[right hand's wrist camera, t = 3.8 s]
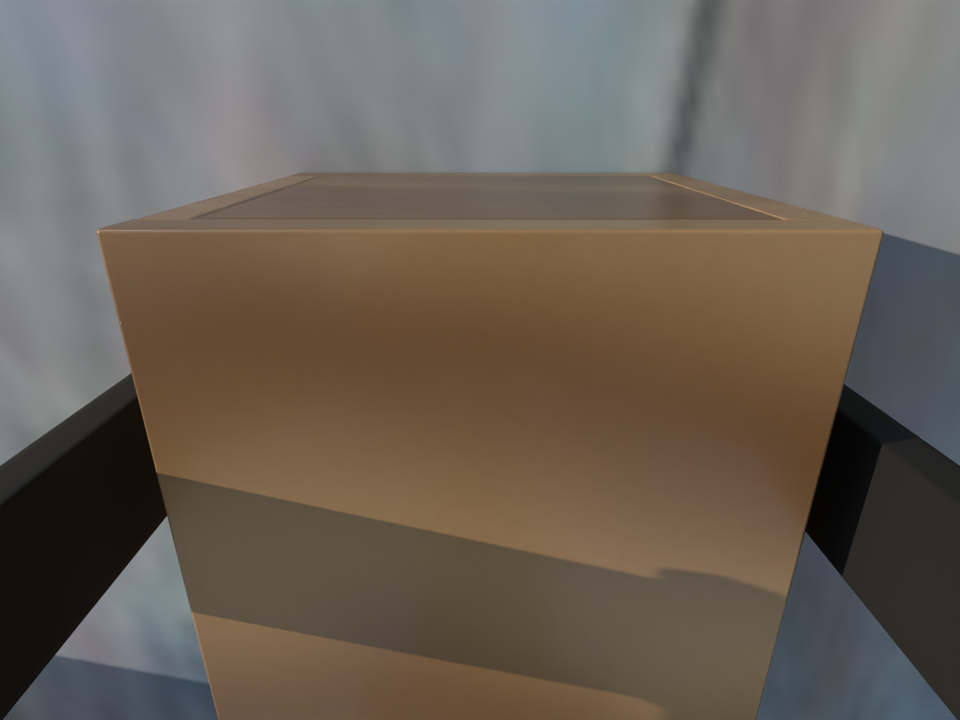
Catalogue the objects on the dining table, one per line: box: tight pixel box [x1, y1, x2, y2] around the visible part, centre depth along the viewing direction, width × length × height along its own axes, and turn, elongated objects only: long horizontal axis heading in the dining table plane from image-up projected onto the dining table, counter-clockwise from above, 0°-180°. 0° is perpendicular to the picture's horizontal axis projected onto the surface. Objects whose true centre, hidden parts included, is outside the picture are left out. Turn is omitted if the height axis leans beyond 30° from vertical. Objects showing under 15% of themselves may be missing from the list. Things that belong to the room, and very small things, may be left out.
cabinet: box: [97, 173, 883, 720], centre depth 16 cm, size 20×10×9 cm, turn 0°
